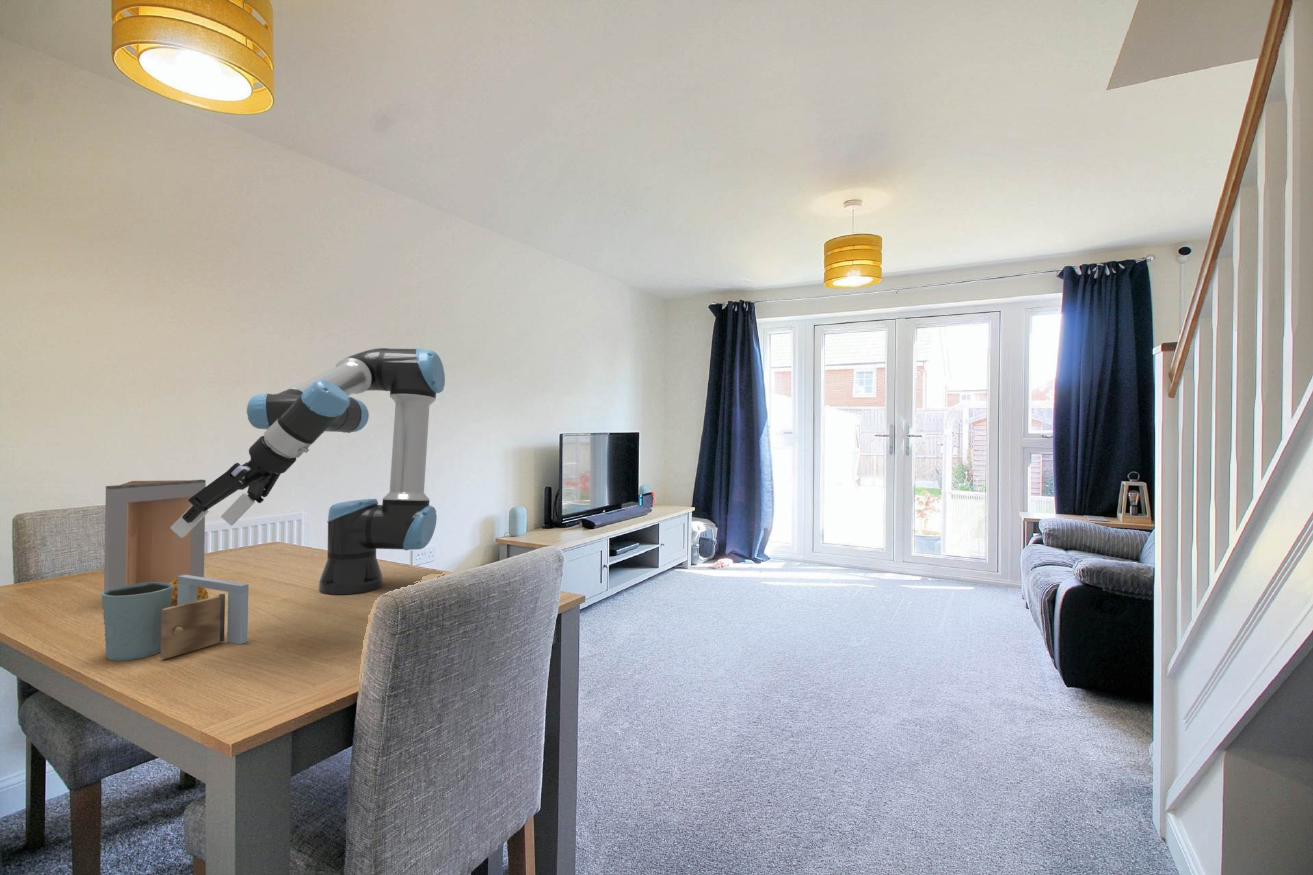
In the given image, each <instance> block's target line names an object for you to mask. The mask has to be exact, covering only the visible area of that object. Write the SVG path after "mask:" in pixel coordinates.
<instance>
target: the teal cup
mask: <svg viewBox="0 0 1313 875" xmlns="http://www.w3.org/2000/svg"><path fill="white" fill-rule="evenodd" d="M172 592H173V584H171V583H164V582H150V583H138V584H130V585H124V586H119V587H114V588H111V589H108V590H105V591H104V590H103V591H102V592H101V593H100V594H101V602H102V609H103V611H102V612H103V613H102V614H103V624H104V641H105V657H106V659H107V660H109V661H114V662H115V661H116V662H117V661H118V662H123V661H125V662H126V661H133V660H139V659H143V658H148V657H151V656H155V655H156V654H161V611H162V609H164V608H168V607H170V605H171V599H172Z"/></svg>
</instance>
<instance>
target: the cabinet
mask: <svg viewBox="0 0 1313 875" xmlns="http://www.w3.org/2000/svg"><path fill="white" fill-rule="evenodd" d="M206 482H207V481H206V479H192V480H190V479H187V480H182V479H181V480H180V479H179V480H130V481H128V482H125V483H122V484H118V485H105V511H104V512H105V513H104V514H105V516H104V521H105V522H104V576H103V577H104V579H103V582H104V583H103V587H104V588H103V591H105V590H108V589H111V588H114V587H119V586H124V585H130V584H138V583H150V582H164V583H170V582H172V581H173V580H176V579H178V576H182V575H191V576H198V577H204V578H205V542H206V541H205V540H206V539H205V536H206V534H205V532H206V531H205V530H206V515H205V516H204V517H203V518H202V519H201V520H200V521H199V522H198V523H197V525H196V526H195V527H194V528H193V529H192V530H191V531H190V532H189V533H188V534H187V535H186V536H185V537H183V538H181V537H179V536H178V535H177V534H176V533H175V532H174V531H173V530H172V529H171V528H170V527H171V526H172V525H173V524H174V523H175V522H176V521H177V520H178V519H179V518H180V517H181V516H182V515H183V514H184V513H185V512H186V511H187V510H188V509H189V508H190V507H191V506H192V504H191V503H190V502H189V501H188V500H189V499H190V498H191V497H192V496H194V495H195V494H197V493H198V492H199V491H201V490H202V489H203V488H205V487H206V486H207V484H206Z"/></svg>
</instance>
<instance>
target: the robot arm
mask: <svg viewBox="0 0 1313 875" xmlns="http://www.w3.org/2000/svg"><path fill="white" fill-rule="evenodd" d="M445 383H446V375H445V368H444V365H443V362H442V360H441V357H440V356H439V354H438V353H437V352H435V351H434V350H431V349H421V348H387V347H379V348H372V349H368V350H365V351H361V352H358V353H355V354H353V355H352V354H351V355H349V356H348V357H345V358H343V359H341V360H339V361H338V362H337V364H336V365H335V366H334V368H331V369H328V370H326V371H325V372H322V373H320V374H318V375H316V376H314V377H311V378H309V379H307V380H305V381H303V382H300V383H298V384H297V385H295V386H292V387H290V388H288V389H286V390H283V391H281V392H278V393H274V394H273V393H260V394H255V395H253V396H252V397H251V398H250V399H249V400H248V403H247V407H246V415H247V420H248V422H249V423H250V425H251V426H252V427H253V428H255V429H260V430H265V431H264V432H263V435H261V436H260V437H259V438H257V439H256V441H254V443H253V444H252V445H251V446H250V447H249V449H248V454H249V457H250V460H249V461H248V462H245V463H243V464H242V465H241V463H239V462H235V463H233V465H232V466H230V468H228V469H227V471H226V472H224V473H223V474H221V475H220V476H218V477H217V478H216V479H214V480H213V481H212V482H209V484H207V485H206V487H205V488H203V489H202V490H201V491H199V492H198V493H197V494H195V495H194V496H192V497H191V498H190V499H189V500H188V501H189V502H190V503H191V504H192V506H191V507H190V508H189V509H188V510H187V511H186V512H185V513H184V514H183V515H182V516H181V517H180V518H179V519H178V520H177V521H176V522H175V523H174V524H173V525H172V526H171V527H170V528H171V529H172V530H173V531H174V532H175V533H176V534H177V535H178V536H179V537H181V538H183V537H185V536H186V535H187V534H188V533H189V532H190V531H191V530H192V529H193V528H194V527H195V526H196V525H197V523H198V522H199V521H200V520H201V519H202V518H203V517H204V516H205V517H206V516H207V514H208V513H210V509H211V508H213V507H214V506H216V505H217V504H219V503H221V501H223V500H225V499H226V498H228V497H229V496H231V495H232V494H234V493H236V492H237V491H240V490H241V491H243V490H245V489H247V491H246V492H244V493H242V494H241V495H240V496H239V497H238V498H237V499H236V500H235V501H234V502H233V503H232V504H231V505H230V506H229V507H228V508H227V509H226V510H225V511H224V513H222V515H220V517H221V518H222V520H224V521H225V522H226V523H227V524H228V525H229V526H233V525H235V524H236V523H237V521H239V520H240V518H241V517H243V515H244V514H245V513H246V512H247V511H248V510H249V509H251V507H252V506H253V505H254V504H255V503H256V502H257V503H258V504H261V503H263V502H264V501H265V499H264V498H266V497H268V496H269V494H270V492H271V491H272V489H273V487H274V486H275V484H276V483H277V481H278V480H279V477H280V476H281V475H282V474H285V473H286V472H287V471H288V470H289V469H290V467H292V466H293V465H294V463H296V461H297V458H300V457H301V456H302V455H303V454H304V453H307V454H308V452H310V449H309V448H310V447H311V446H312V445H313V444H314V443H315V442H316V441H317V440H318V439H319V438H320V437H321V435H322V434H324V433H325V432H329V433H330V432H332V433H333V432H335V433H347V434H349V433H350V434H351V433H355V432H359V431H361V430H362V429H363V428H364V427H365V426H366V425H367V423H368V421H369V418H370V417H369V416H370V415H369V413H370V412H369V409H368V407H367V405H366V404H365V403H364V402H363V401H362V400H359V399H356V398H354V397H351V395H353V394H355V395H358V394H362V393H365V392H368V391H380V392H381V391H383V392H389V397H390V398H391V399H392V400H393V402H394V404H395V408H394V419H393V420H394V421H393V423H394V424H393V434H392V435H393V436H392V437H393V438H392V450H391V451H392V452H391V466H390V467H391V468H390V479H389V492H388V493H386V495H385V496H383V498H382V504H379V502H378V501H379V500H377V499H376V498H365V499H356V500H349V501H342V502H338V503H335V504H332V505H331V506H330V507H329V509H328V516H327V556H326V557H327V558H326V559H327V560H326V563H325V565H324V568H323V570H322V573H321V576H320V579H319V582H318V585H319V586H318V590H319V592H321V593H323V594H328V595H351V594H352V595H353V594H362V593H367V592H370V591H374V590H377V589H379V588H381V587H382V586H383V585H384V584H383V583H384V582H383V581H384V580H383V579H384V577H383V573H382V570H381V568H380V564H379V562H378V558H377V550H404V551H412V550H422V549H424V548H426V547H427V546H428V544H429V543H430V542H431V540H432V538H433V535H434V534H435V530H436V526H437V510H436V508H435V507H434V506H432V505H430V498H429V497H428V496H427V495H426V493H425V482H426V481H425V480H426V478H425V477H426V467H427V466H426V465H427V452H428V451H427V450H428V435H429V434H428V433H429V420H430V419H429V417H430V406H431V405H432V404H433V403H434V402H436V400H437V394H440V393H442V392H443V391H444V388H445V385H446V384H445Z"/></svg>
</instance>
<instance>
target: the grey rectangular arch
mask: <svg viewBox="0 0 1313 875" xmlns="http://www.w3.org/2000/svg"><path fill="white" fill-rule="evenodd" d="M197 587H202V588H204V589H210V590H215V591H222V592H227V630H226V631H227V633H226V634H227V635H226V636H227V637H226V639H227V641H226V642H227V643H230V644H237V645H242V644H245V643H248V635H249V634H248V625H249V623H248V621H249V620H248V619H249V616H248V615H249V584H248V583H241V582H235V581H230V580H222V579H218V578H217V579H215V578H210V577H209V578H208V577H205V576H204V577H198V576H191V575H182V576H178V598H177V605H181V604H186V603H190V602H195V601H197Z"/></svg>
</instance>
